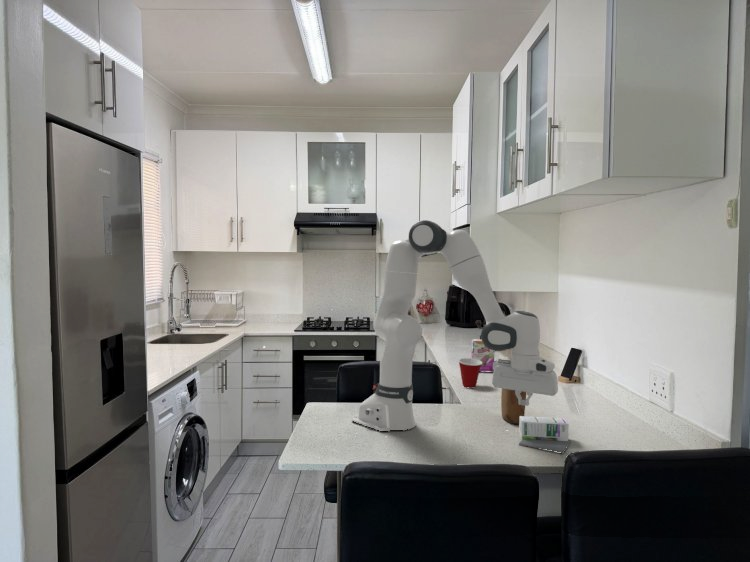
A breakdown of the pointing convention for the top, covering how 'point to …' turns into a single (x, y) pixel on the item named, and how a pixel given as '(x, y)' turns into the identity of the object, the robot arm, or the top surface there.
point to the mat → (546, 444)
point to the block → (512, 406)
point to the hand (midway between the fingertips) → (523, 404)
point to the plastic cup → (469, 371)
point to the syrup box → (543, 428)
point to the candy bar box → (482, 355)
